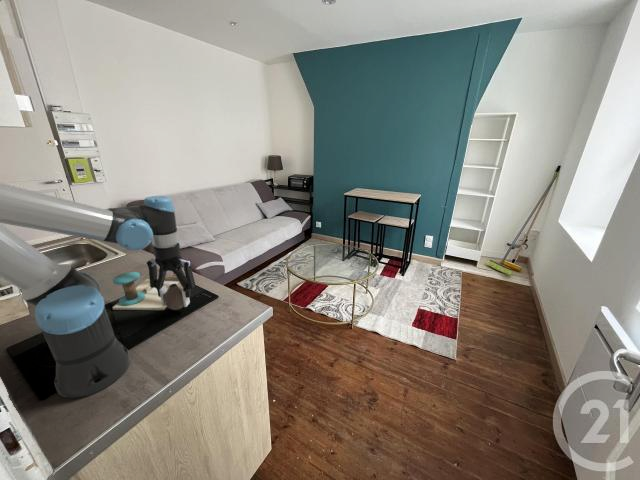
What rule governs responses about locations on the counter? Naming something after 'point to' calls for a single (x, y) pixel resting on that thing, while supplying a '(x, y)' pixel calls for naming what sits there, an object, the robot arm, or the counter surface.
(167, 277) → the jig board
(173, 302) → the vase
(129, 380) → the counter surface
